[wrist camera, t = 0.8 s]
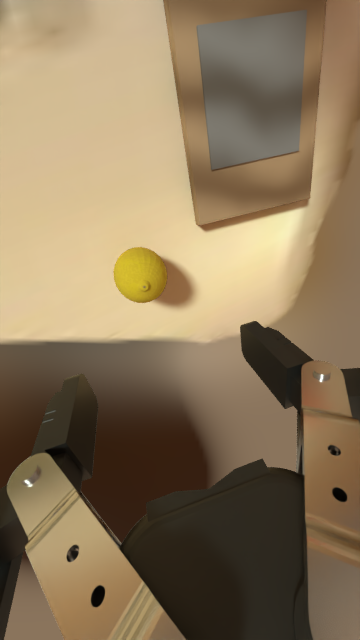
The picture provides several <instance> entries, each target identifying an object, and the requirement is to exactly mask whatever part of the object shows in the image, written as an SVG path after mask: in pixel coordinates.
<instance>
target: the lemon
mask: <svg viewBox="0 0 360 640" xmlns="http://www.w3.org/2000/svg"><path fill="white" fill-rule="evenodd" d="M114 280H115V283H116V286H117V288H118V289H119V291H120V292H121V293H122V294H123V295H124V296H125V297H126V298H128V299H129V300H131V301H134V302H138V303H146V302H150V301H152V300H154V299H156V298H157V297H158V296H160V294H161V293H162V292H163V290H164V288H165V286H166V281H167V271H166V267H165V265H164V262H163V261H162V259H161V258H160V257H159V256H158V255H157V254H156V253H155V252H153V251H151V250H149V249H147V248H142V247H138V248H132V249H129V250H127V251H125V252H124V253H122V255H121V256H120V257H119V258H118V260H117V262H116V264H115V267H114Z"/></svg>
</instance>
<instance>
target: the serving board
mask: <svg viewBox="0 0 360 640" xmlns="http://www.w3.org/2000/svg"><path fill="white" fill-rule="evenodd" d="M163 1H164V8H165V15H166V22H167V29H168V35H169V42H170V49H171V56H172V63H173V70H174V76H175V83H176V90H177V97H178V104H179V111H180V117H181V124H182V131H183V138H184V145H185V152H186V158H187V165H188V172H189V179H190V186H191V193H192V199H193V206H194V213H195V220H196V224H197V225H204V224H208V223H212V222H216V221H220V220H224V219H228V218H232V217H236V216H240V215H244V214H248V213H252V212H256V211H260V210H264V209H268V208H272V207H276V206H280V205H284V204H288V203H293V202H297V201H301V200H305V199H309V198H310V191H311V179H312V167H313V155H314V143H315V131H316V119H317V107H318V95H319V84H320V72H321V60H322V48H323V36H324V24H325V12H326V0H163Z"/></svg>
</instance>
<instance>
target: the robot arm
mask: <svg viewBox="0 0 360 640" xmlns="http://www.w3.org/2000/svg"><path fill="white" fill-rule="evenodd" d="M240 332H241V346H242V352H243V355H244V358H245V359H246V361H247V362H248V363H249V365H250V366H251V367H252V368H253V370H254V371H255V372H256V373H257V375H258V376H259V377H260V378H261V380H262V381H263V382H264V383H265V385H266V386H267V387H268V388H269V390H270V391H271V392H272V393H273V395H274V396H275V397H276V398H277V400H278V401H279V402H280V403H281V405H282V406H283V407H284V408H285V409H286V408H289V407H292V406H294V407H295V408H296V409H297V461H296V472H294V471H291V470H287V469H283V468H275V467H267V466H266V464H265V462H264V461H263V459H260V460H257V461H255V462H252V463H249V464H247V465H244V466H242V467H239V468H237V469H234V470H233V471H232V472H231V473H229V474H228V475H227V476H225V477H224V478H223V479H221V480H220V481H219V482H218V483H216V484H215V485H214V486H212V487H211V488H209V489H205V490H191V491H177V492H174V493H171V494H168V495H166V496H163V497H161V498H158V499H155V500H153V501H150V502H148V503H146V506H147V514H146V515H145V516H144V517H143V518H142V519H141V520H140V521H139V522H137V523H136V525H135V526H134V527H133V528H132V529H131V530H130V532H129V533H128V535H127V536H126V538H125V539H124V541H123V542H122V544H121V543H120V541H119V540H118V539H117V538H116V536H115V535H114V534H113V533H112V531H111V530H110V529H109V528H108V527H107V525H106V524H105V522H104V521H103V520H102V519H101V517H100V516H99V515H98V513H97V512H96V511H95V510H94V508H93V507H92V506H91V504H90V503H89V502H88V501H87V499H86V498H85V497H84V495H83V494H82V493H81V483H82V481H84V480H86V479H89V478H92V471H93V460H94V449H95V437H96V425H97V415H98V403H97V398H96V396H95V394H94V392H93V390H92V388H91V387H90V384H89V383H88V381H87V379H86V377H85V376H84V375H83V374H79V375H76V376H72V377H69V378H66V379H65V380H64V384H63V387H62V390H61V392H57V393H56V394H55V395H54V396H53V398H52V399H51V400H50V402H49V403H48V406H47V409H46V412H45V415H44V418H43V421H42V422H43V424H41V427H40V430H39V433H38V436H37V439H36V442H35V445H34V448H33V451H32V454H31V457H29V458H28V459H26V460H25V461H24V462H22V464H20V465H19V466H18V468H17V469H16V470H15V471H14V472H13V474H12V475H11V477H10V479H9V482H8V484H7V485H6V486H4V487H3V488H1V489H0V640H4V636H5V632H6V627H7V623H8V618H9V614H10V609H11V605H12V600H13V596H14V591H15V587H16V582H17V578H18V573H19V569H20V564H21V559H22V555H23V551H25V550H26V552H27V555H28V557H29V560H30V562H31V564H32V567H33V569H34V571H35V573H36V576H37V578H38V581H39V583H40V585H41V587H42V590H43V592H44V594H45V597H46V599H47V601H48V604H49V606H50V608H51V610H52V613H53V615H54V617H55V619H56V622H57V624H58V626H59V629H60V631H61V633H62V635H63V638H64V640H360V368H353V369H339V368H338V367H336V366H335V365H333V364H331V363H328V362H325V361H314V360H313V359H312V358H310V357H309V356H308V355H307V354H306V353H304V352H303V351H302V350H301V349H299V348H298V347H297V346H296V345H294V344H293V343H291V341H290V340H288V339H287V338H285V336H284V335H282V334H281V333H280V332H279V331H277V330H274V329H272V328H269V327H267V328H264V327H263V326H261V325H260V324H259V323H258V322H257V321H253V322H250V323H246V324H243V325H241V327H240Z"/></svg>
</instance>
